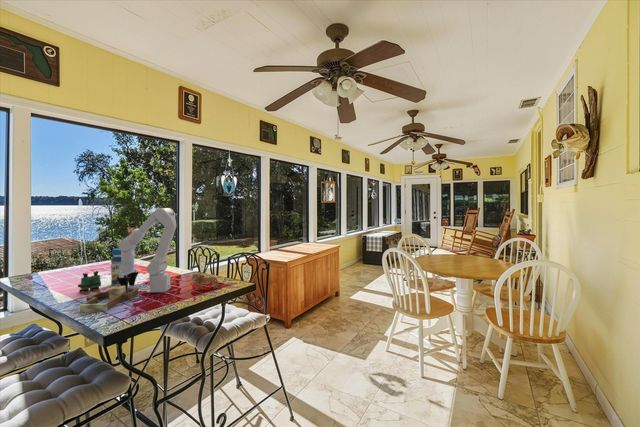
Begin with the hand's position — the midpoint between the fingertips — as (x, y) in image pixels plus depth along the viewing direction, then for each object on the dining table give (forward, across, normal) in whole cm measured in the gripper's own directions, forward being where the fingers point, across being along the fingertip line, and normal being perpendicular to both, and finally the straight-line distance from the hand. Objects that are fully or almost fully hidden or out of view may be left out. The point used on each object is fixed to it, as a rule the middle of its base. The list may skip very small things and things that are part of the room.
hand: (128, 287), depth 154 cm
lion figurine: (+2, +1, +40) cm, 40 cm away
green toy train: (+2, 0, -19) cm, 19 cm away
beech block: (+2, +10, 0) cm, 11 cm away
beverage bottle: (+2, -14, -11) cm, 18 cm away
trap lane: (+1, +16, 0) cm, 17 cm away
